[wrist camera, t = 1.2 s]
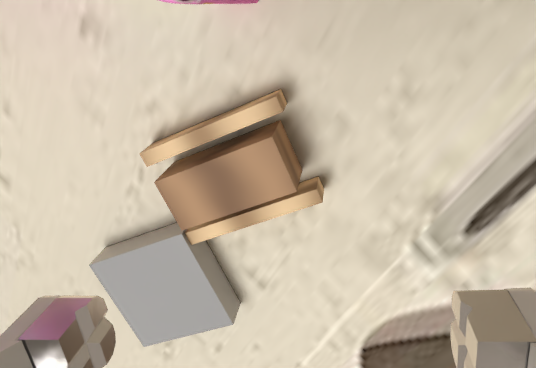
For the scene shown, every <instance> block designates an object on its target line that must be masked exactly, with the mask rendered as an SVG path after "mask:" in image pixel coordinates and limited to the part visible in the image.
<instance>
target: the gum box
mask: <svg viewBox="0 0 536 368" xmlns="http://www.w3.org/2000/svg"><path fill="white" fill-rule="evenodd" d="M159 1H163V2H169V3H179V4H246V3H257V2H258V1H259V0H159Z"/></svg>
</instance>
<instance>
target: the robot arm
mask: <svg viewBox="0 0 536 368" xmlns="http://www.w3.org/2000/svg"><path fill="white" fill-rule="evenodd" d="M451 307H452V310H453V312H454V315H455V318H456V319H455V320H454V321H453V322H452V323H451V346H452V352H453V357H454V361H455V364H456V367H457V368H536V291H535V290H533V289H532V288H512V289H504V290H465V291H453V295H452V305H451ZM107 310H108V309H107V306H106V304H105V301H104V299H103V298H101V297H99V296H43V297H40V298H38V299H37V300H36V301H35V302H34V303H33V304H32V305H31V306H30V307H29V308H28V309H27V310H26V311H25V312H24V313H23V314H22V315H21V316H20V317H19V318H18V319H17V320H16V321H15V322H14V323H13V324H12V325H11V326H10V327H9V328H8V329H7V330H6V331H5V332H4V333H3V334H2V335H1V336H0V368H102V367H104V366H105V365H107V363H108V362H109V360H110V358H111V357H112V355H113V351H114V347H115V343H116V341H115V331H114V328H113V324H111V323H110V322H109V321H108V320H107V319H106V318H105V315H106V313H107Z"/></svg>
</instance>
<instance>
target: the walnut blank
mask: <svg viewBox="0 0 536 368" xmlns="http://www.w3.org/2000/svg"><path fill="white" fill-rule="evenodd" d="M301 173H302V168H301V166H300V164H299V161H298V159H297V157H296V154H295V152H294V150H293V148H292V145H291V143H290V141H289V139H288V136H287V134H286V132H285V129H284V127H283V125H282V123H281V120H279V121H276V122H274V123H271V124H269V125H266V126H264V127H261V128H259V129H256V130H254V131H251V132H249V133H246V134H244V135H241V136H239V137H236V138H234V139H231V140H229V141H226V142H224V143H221V144H219V145H216V146H214V147H211V148H208V149H206V150H203V151H201V152H198V153H196V154H193V155H191V156H188V157H186V158H183V159H181V160H178V161H176V162H174V163H173V164H172V165H171V166H170V167H169V168H168V169H167V170H166V171H165V172H164V173H163V174H162V175H161V176H160V177H159V178H158V179H157V180H156V181H155V182H154V183H155V184H156V186H157V188H158V190H159V191H160V193H161V195H162V197H163V199H164V200H165V202H166V204H167V206H168V207H169V209H170V211H171V213H172V214H173V216H174V218H175V220H176V221H177V223H178V225H179V227H180V228H181V230H185V229H188V228H191V227H194V226H197V225H200V224H203V223H206V222H209V221H212V220H215V219H218V218H221V217H224V216H227V215H230V214H233V213H236V212H239V211H242V210H245V209H247V208H250V207H253V206H256V205H259V204H262V203H265V202H268V201H271V200H274V199H277V198H280V197H283V196H286V195H289V194H292V193H295V192H297V189H298V185H299V181H300V177H301Z"/></svg>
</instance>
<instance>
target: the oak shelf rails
mask: <svg viewBox="0 0 536 368" xmlns="http://www.w3.org/2000/svg"><path fill="white" fill-rule="evenodd" d="M286 105H287V102H286V100H285V97H284V95H283V93H282V90H281V89H280V90H278V91H275V92H273V93H271V94H268V95H266V96H264V97H261V98H259V99H256V100H254V101H252V102H249V103H247V104H245V105H242V106H240V107H237V108H235V109H233V110H230V111H228V112H226V113H223V114H221V115H219V116H216V117H214V118H211V119H209V120H207V121H204V122H202V123H200V124H197V125H195V126H192V127H190V128H188V129H185V130H183V131H181V132H178V133H176V134H174V135H171V136H169V137H166V138H164V139H162V140H159V141H157V142H155V143H152V144H151V145H150V146H148V147H147V148H146V149H145V150H143V151H142V152H141V153H140V156H141V157H142V159H143V161H144V163H145V164H146V166H147V167H148V166H150V165H153V164H155V163H158V162H160V161H163V160H165V159H168V158H170V157H172V156H175V155H177V154H180V153H182V152H185V151H187V150H190V149H192V148H195V147H197V146H200V145H202V144H205V143H207V142H210V141H212V140H215V139H217V138H220V137H222V136H224V135H227V134H229V133H232V132H234V131H237V130H239V129H242V128H244V127H247V126H249V125H252V124H254V123H257V122H259V121H262V120H264V119H267V118H269V117H271V116H274V115H276V114H279V113H281V112H283V111H284V109H285V107H286ZM323 193H324V188H323V186H322V183H321V181H320V179H319V176H318V177H315V178H312V179H310V180H307V181H304V182H301V183H299V185H298V189H297V192H295V193H292V194H289V195H286V196H283V197H280V198H277V199H274V200H271V201H268V202H265V203H262V204H259V205H256V206H253V207H250V208H247V209H245V210H242V211H239V212H236V213H233V214H230V215H227V216H224V217H221V218H218V219H215V220H212V221H209V222H206V223H203V224H200V225H197V226H194V227H191V228H188V229H187V231H186V232H185V235H186V236H187V238H188V240H189V242H190V243H191V245H193V244H196V243H199V242H202V241H205V240H208V239H211V238H214V237H217V236H220V235H224V234H227V233H230V232H233V231H236V230H239V229H242V228H245V227H248V226H251V225H254V224H257V223H260V222H264V221H267V220H270V219H273V218H276V217H279V216H282V215H285V214H288V213H291V212H294V211H297V210H301V209H304V208H307V207H310V206H313V205H316V204H319V203H322V202H323Z"/></svg>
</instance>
